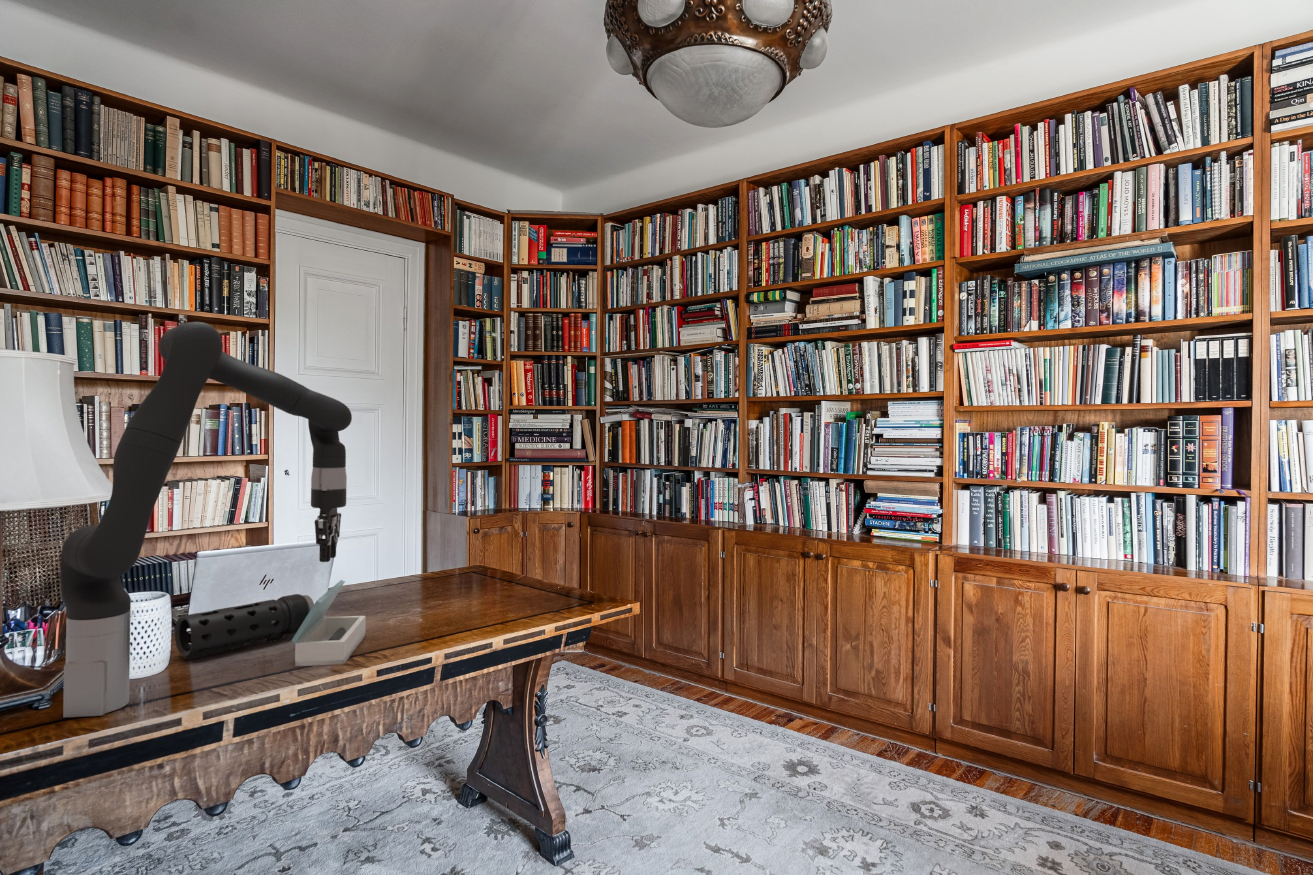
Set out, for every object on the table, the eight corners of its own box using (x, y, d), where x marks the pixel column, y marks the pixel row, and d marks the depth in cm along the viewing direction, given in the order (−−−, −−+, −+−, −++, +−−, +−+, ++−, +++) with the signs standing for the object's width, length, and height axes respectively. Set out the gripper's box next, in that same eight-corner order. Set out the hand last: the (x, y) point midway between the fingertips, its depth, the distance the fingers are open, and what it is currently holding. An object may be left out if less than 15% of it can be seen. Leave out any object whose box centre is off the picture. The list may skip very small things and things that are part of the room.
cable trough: (344, 664, 154) (344, 641, 154) (295, 666, 153) (295, 643, 153) (365, 635, 176) (365, 615, 176) (322, 637, 174) (323, 616, 174)
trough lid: (320, 602, 153) (316, 600, 153) (295, 643, 153) (291, 640, 152) (345, 581, 175) (341, 579, 175) (323, 616, 174) (319, 614, 174)
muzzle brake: (173, 657, 158) (174, 611, 157) (297, 629, 181) (297, 589, 180) (192, 665, 152) (192, 618, 152) (317, 636, 175) (317, 595, 175)
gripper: (320, 484, 170) (319, 554, 170) (302, 489, 156) (301, 565, 156) (353, 484, 172) (352, 554, 172) (338, 489, 158) (337, 565, 158)
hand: (327, 559), depth 164 cm, fingers open, 4 cm apart
